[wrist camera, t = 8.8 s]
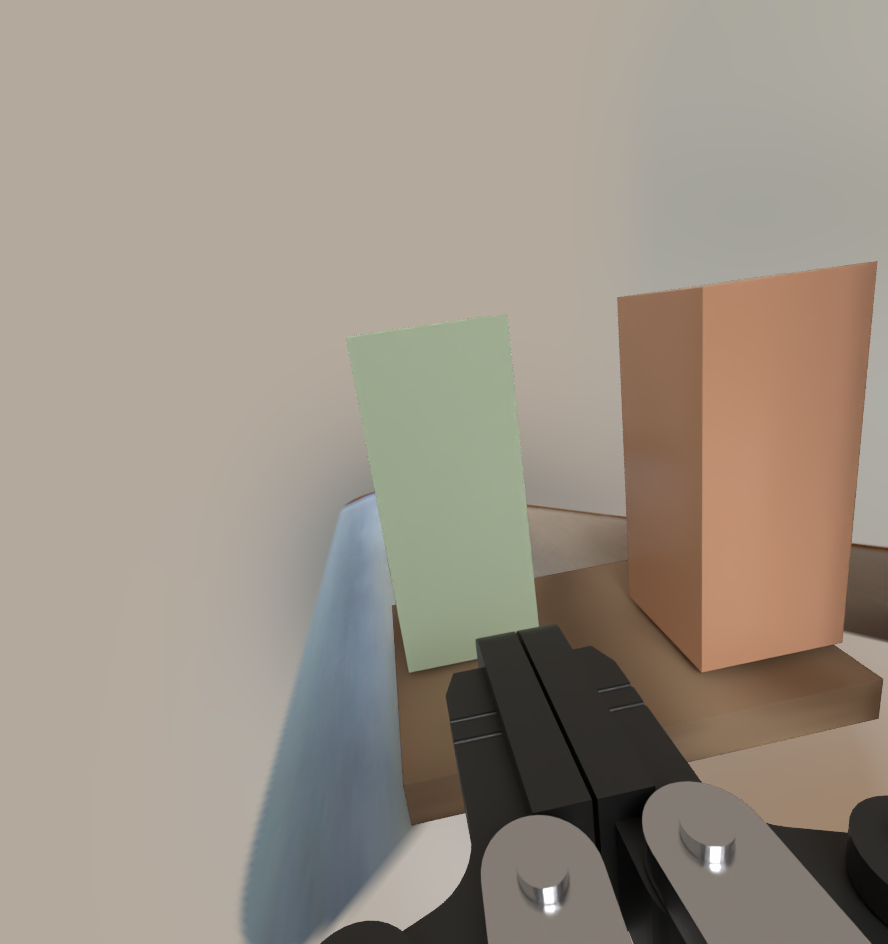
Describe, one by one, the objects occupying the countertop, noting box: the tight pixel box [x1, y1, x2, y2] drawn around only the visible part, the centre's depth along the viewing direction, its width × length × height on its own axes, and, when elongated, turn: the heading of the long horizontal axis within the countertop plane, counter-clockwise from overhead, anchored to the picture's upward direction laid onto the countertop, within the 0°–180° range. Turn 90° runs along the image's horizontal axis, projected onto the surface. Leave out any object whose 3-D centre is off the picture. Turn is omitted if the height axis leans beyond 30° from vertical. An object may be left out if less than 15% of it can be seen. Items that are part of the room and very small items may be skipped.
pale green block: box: [346, 315, 539, 673], centre depth 20 cm, size 5×5×12 cm
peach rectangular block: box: [617, 261, 877, 672], centre depth 18 cm, size 5×5×12 cm
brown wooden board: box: [392, 560, 883, 825], centre depth 20 cm, size 15×10×2 cm, turn 98°
